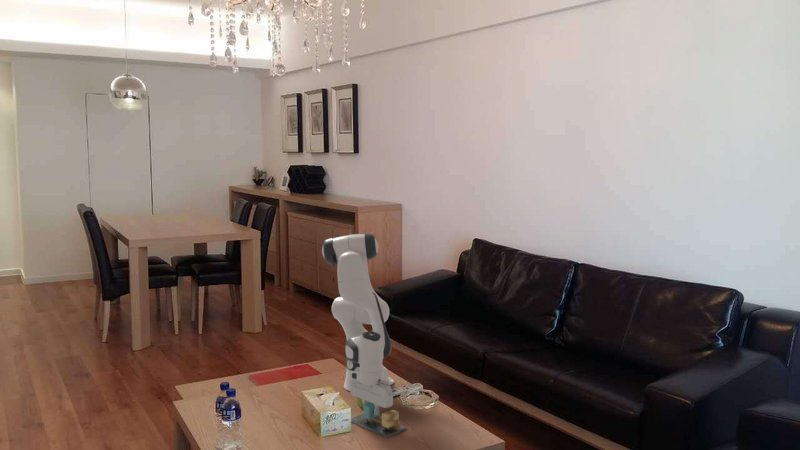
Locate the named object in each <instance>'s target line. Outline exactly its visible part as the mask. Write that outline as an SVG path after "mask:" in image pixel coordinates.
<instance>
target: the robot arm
mask: <svg viewBox="0 0 800 450" xmlns="http://www.w3.org/2000/svg"><path fill="white" fill-rule="evenodd" d="M378 252H379V243H378V240H377V238H376V236H375V235H374V234H372V233H364V234H363V233H362V234H361V233H358V234H356V233H354V234H348V235H341V236H338V237H330V238H327V239H325V240H324V242H323V244H322V249H321V254H322V257H323V258H324V261H325V263H327V264H328V265H332V266H333V267H334V268H336V265H337V268H336V269H337V270H336V272H337V275H336V276H337V285H338V286H337V288H338V293H339V295H340V296H338V297H336V298H334V300H333V302H332V303H331V304H332V305H331V313H332V316H333V318H334V319H335V320H337V321H338V322H339V324H340V325H341V327H342V329H343V331H344V334H345V336H346V337H345V338H346V343H345V345H344V355H345V360H346V361H345V363H346V373H345V379H344V383H343V388H344V390H346V391H349V392H350V394H351V395H352V396H353V397H356V398H357V397H358V398H361V399H362V402H363V405H366V404H369V403H368V402H371V403H373V404H374V406H375V409H374V410H372V412H373V413H372V414H374V415H378V414H379V408H380V409H381V408H383V409H388V408H391V407H392V406H393V405H394V396H393V389H392V386H391V385H393V384H394V383H395V381H394V379H393V378H391V377H390V375H389V371H388V369H387V368H386V366H384V365H383V360H386V359H387V358H388V357H389V355H390V354H391V353H392V351H393V350H392V349H393V343H392V340H391V338H390V335H389V333H388V330H387V326H386V322H387V320H388V319H389V316H390V307H389V305H388V303H387V302H386V301H385V300H383V299H382V298H381V296H379V295H378V294H377V293H376V291H375V289H374V287H373V285H372V283H371V279H370V274H369V266H368V261H370V260H372V259H375V258H376V257H377V256H378ZM364 325H371V327H372V331H371V330H370V331H368V330H367V329H365V327H364Z"/></svg>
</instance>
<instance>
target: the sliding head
mask: <svg viewBox="0 0 800 450" xmlns="http://www.w3.org/2000/svg"><path fill="white" fill-rule="evenodd" d="M362 408H363V417H364V418H366V422H368V419H371V418H374V417H377V416H381V407H380V408H379V414H378V415H374V414H372V413H373V412H372V410H374V409H375V406H374V404H373V403H369V404H366V405H363V407H362Z"/></svg>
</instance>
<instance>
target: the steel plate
mask: <svg viewBox="0 0 800 450" xmlns="http://www.w3.org/2000/svg"><path fill="white" fill-rule="evenodd" d="M351 418H352V422H353V423H352V422H351V423H352V424H353V425H356V424H357V425H356V426H358V427H361V428H363V429H364V430H368V431H369V432H371V433H372V432H373V433H374V434H376V435H378V436H381V437H383V438H385V439H387V438H389V437H392V436H395V435H397V434H399V433H402V432H405V431H407V426H404V425H402V424H400V425H401V429H399V430H395V429H392V428H387V431H385V427H383V426H382V424H381V423H378V422H376V421H374V420H371V419H368V422H366V418H364V417H363V416H362V414H360V415H356V416H354V417H351Z"/></svg>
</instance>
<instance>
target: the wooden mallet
mask: <svg viewBox="0 0 800 450" xmlns="http://www.w3.org/2000/svg"><path fill="white" fill-rule="evenodd" d="M361 415H362V416H363V411H361ZM399 417H400V416H399V411H397V410H395V409H392V410H388V411H386V412H383V413H381V415H379V416H377V417H374V418H371V420H374V421H376V422H378V423H381V424H382V426H383V427H385V431H387V428H392V429H395V430H399V429H401V425H402V424H400V423H399V422H400V421H399V419H400V418H399Z"/></svg>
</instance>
